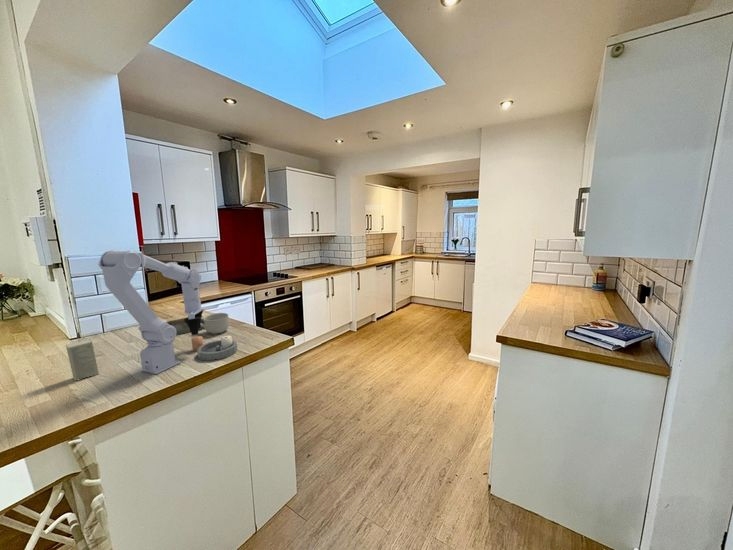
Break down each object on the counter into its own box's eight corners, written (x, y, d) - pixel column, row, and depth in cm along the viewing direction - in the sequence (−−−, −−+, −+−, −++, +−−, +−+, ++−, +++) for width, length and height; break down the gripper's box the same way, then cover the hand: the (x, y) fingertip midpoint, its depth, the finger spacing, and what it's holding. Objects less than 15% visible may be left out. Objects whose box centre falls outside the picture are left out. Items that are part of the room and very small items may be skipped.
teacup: (234, 328, 146) (232, 312, 145) (221, 336, 135) (219, 319, 134) (208, 327, 147) (206, 312, 146) (193, 335, 137) (191, 319, 136)
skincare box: (96, 370, 104) (90, 338, 102) (99, 374, 102) (93, 341, 100) (72, 378, 100) (65, 344, 98) (74, 382, 97) (66, 347, 95)
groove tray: (217, 362, 108) (216, 355, 108) (189, 357, 113) (189, 350, 113) (245, 348, 121) (244, 341, 121) (219, 344, 126) (218, 337, 126)
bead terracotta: (197, 352, 118) (196, 340, 118) (190, 350, 120) (189, 339, 119) (206, 348, 122) (204, 336, 121) (199, 346, 124) (197, 335, 123)
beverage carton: (158, 334, 140) (156, 321, 139) (202, 325, 152) (201, 313, 151) (159, 339, 134) (157, 325, 133) (206, 329, 146) (204, 316, 145)
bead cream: (227, 351, 116) (226, 339, 115) (219, 350, 117) (218, 338, 116) (235, 347, 119) (233, 336, 119) (227, 346, 121) (226, 335, 120)
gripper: (201, 301, 113) (205, 335, 115) (204, 294, 126) (208, 324, 128) (180, 304, 110) (184, 338, 112) (185, 296, 123) (190, 327, 125)
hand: (196, 331), depth 120 cm, fingers open, 7 cm apart
